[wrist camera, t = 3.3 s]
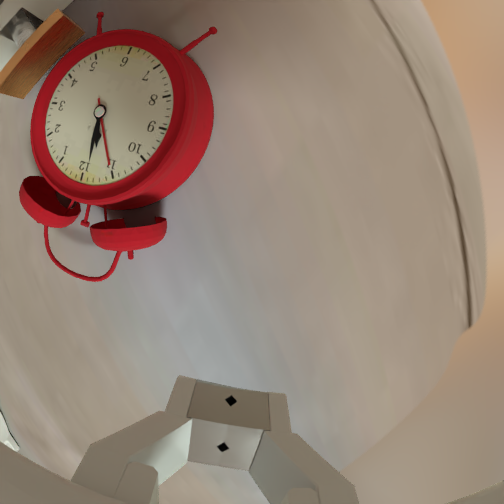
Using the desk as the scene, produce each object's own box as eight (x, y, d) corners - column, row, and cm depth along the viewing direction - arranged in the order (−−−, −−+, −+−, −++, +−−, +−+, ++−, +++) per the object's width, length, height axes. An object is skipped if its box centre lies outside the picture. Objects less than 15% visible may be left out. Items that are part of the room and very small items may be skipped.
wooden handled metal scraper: (23, 99, 14) (-5, 91, 11) (-1, 53, 12) (-24, 44, 9) (85, 33, 13) (63, 15, 10) (53, -5, 12) (34, -21, 9)
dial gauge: (-9, 99, 14) (-68, 89, 8) (-26, 55, 13) (-74, 41, 6) (101, -15, 13) (61, -62, 6) (68, -44, 11) (34, -81, 4)
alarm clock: (248, 22, 11) (127, 332, 11) (239, 82, 18) (157, 303, 17) (77, 2, 10) (-35, 250, 10) (106, 53, 16) (25, 248, 16)
